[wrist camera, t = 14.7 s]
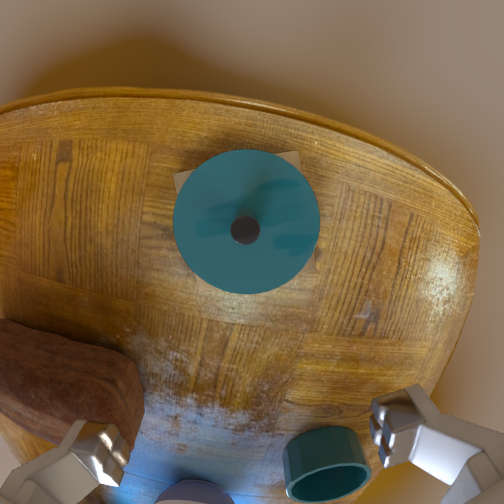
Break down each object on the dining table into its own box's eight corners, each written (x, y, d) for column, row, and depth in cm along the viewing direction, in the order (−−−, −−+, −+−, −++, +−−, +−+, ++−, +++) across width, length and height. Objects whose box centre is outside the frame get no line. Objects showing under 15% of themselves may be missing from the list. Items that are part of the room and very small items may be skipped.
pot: (360, 417, 36) (375, 453, 29) (356, 460, 39) (367, 491, 32) (278, 435, 37) (282, 474, 29) (287, 475, 39) (290, 508, 32)
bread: (155, 420, 36) (133, 483, 24) (15, 375, 35) (-21, 412, 23) (146, 344, 33) (108, 410, 21) (-5, 305, 32) (-54, 337, 20)
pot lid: (304, 140, 26) (315, 132, 21) (325, 276, 29) (337, 294, 25) (163, 166, 27) (147, 164, 22) (193, 299, 30) (184, 319, 25)
